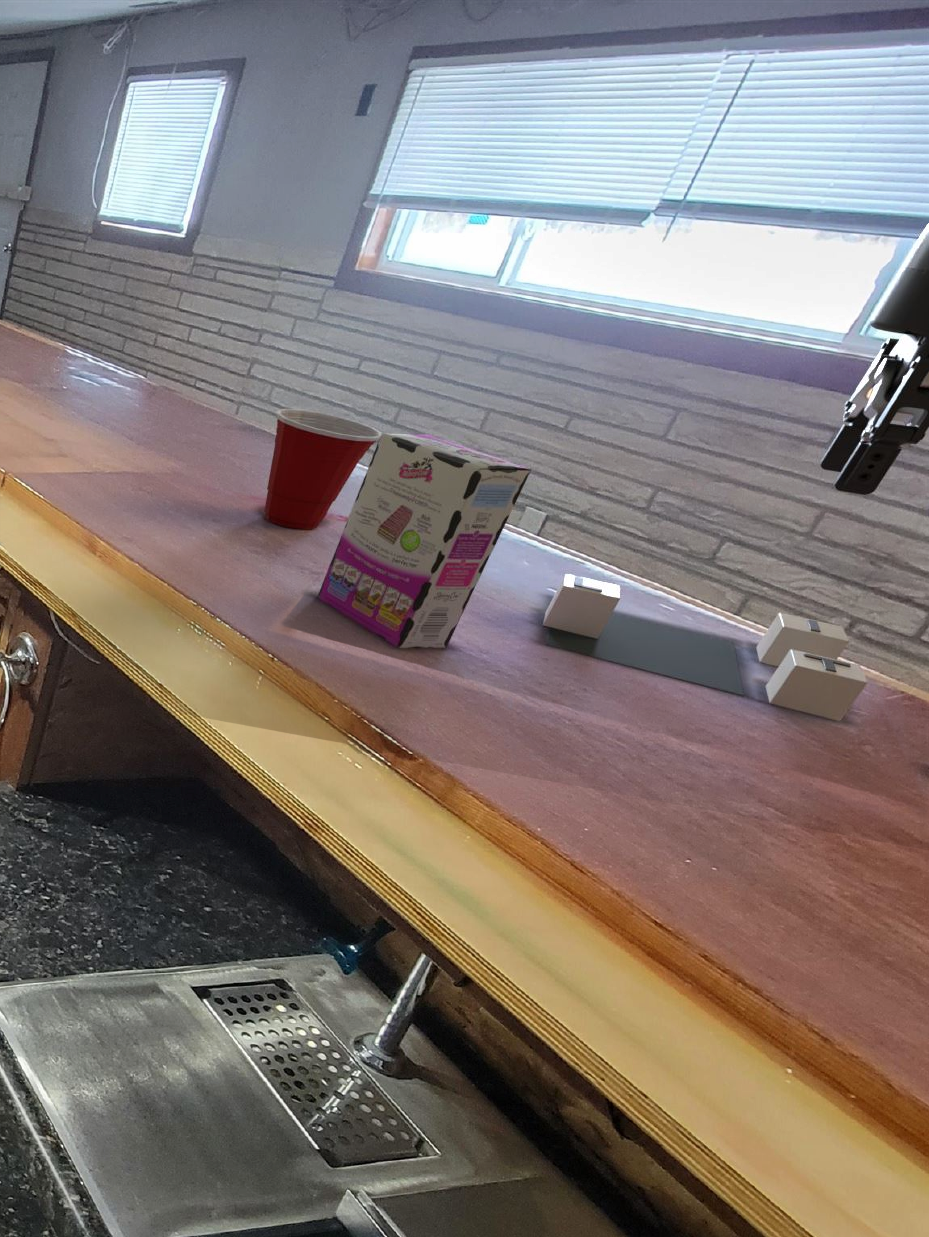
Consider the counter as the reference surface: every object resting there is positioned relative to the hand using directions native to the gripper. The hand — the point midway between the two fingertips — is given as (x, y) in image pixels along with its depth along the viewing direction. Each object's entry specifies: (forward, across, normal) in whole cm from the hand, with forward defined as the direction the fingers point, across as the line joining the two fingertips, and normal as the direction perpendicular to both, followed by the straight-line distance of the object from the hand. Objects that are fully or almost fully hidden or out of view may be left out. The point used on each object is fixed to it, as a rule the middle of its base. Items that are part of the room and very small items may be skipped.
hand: (842, 480), depth 80 cm
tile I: (+16, -2, -3) cm, 16 cm away
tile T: (+16, -12, -3) cm, 20 cm away
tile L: (+15, -6, +12) cm, 20 cm away
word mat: (+16, -6, +7) cm, 18 cm away
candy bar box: (+16, -18, +25) cm, 35 cm away
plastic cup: (+16, +9, +38) cm, 42 cm away
